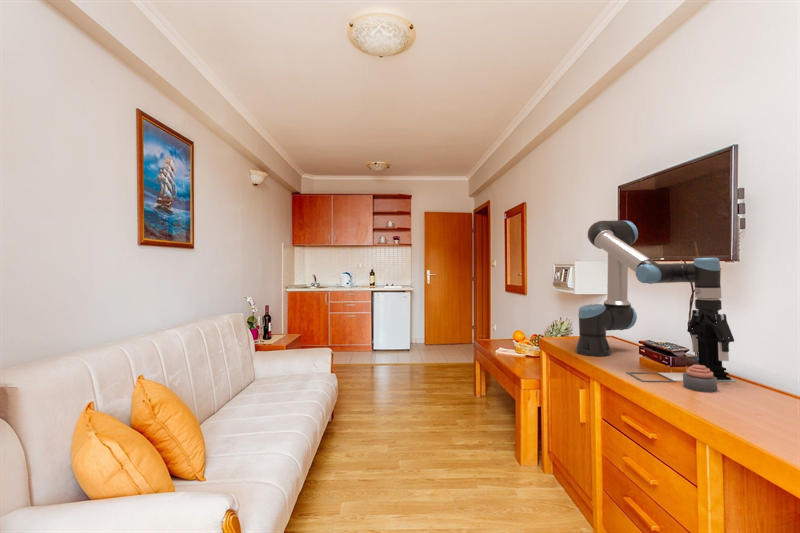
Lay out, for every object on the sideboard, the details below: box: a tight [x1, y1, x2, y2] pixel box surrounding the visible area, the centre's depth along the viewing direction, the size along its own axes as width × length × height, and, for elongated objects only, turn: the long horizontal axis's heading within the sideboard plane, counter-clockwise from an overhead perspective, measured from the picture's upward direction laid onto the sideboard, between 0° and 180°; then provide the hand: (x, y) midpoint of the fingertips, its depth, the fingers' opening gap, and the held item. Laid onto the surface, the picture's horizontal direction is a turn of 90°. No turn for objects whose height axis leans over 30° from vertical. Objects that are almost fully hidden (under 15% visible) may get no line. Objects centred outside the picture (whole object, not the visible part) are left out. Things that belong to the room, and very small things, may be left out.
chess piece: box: [692, 322, 732, 380], centre depth 136 cm, size 8×8×20 cm
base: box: [682, 372, 718, 393], centre depth 125 cm, size 9×9×4 cm
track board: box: [625, 371, 737, 383], centre depth 137 cm, size 12×32×1 cm, turn 83°
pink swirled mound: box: [685, 364, 713, 378], centre depth 125 cm, size 7×7×3 cm
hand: (709, 356), depth 136 cm, fingers open, 13 cm apart
